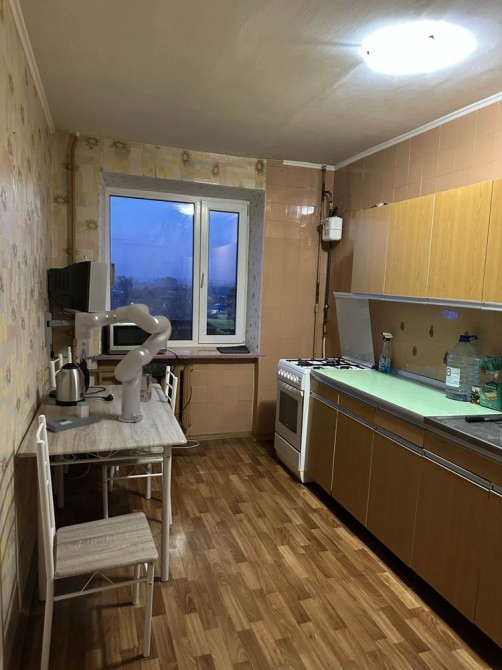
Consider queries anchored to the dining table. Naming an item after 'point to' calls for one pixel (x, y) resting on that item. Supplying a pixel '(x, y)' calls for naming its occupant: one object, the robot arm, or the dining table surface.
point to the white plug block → (82, 409)
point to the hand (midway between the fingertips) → (83, 367)
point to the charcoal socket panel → (71, 422)
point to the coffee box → (146, 387)
